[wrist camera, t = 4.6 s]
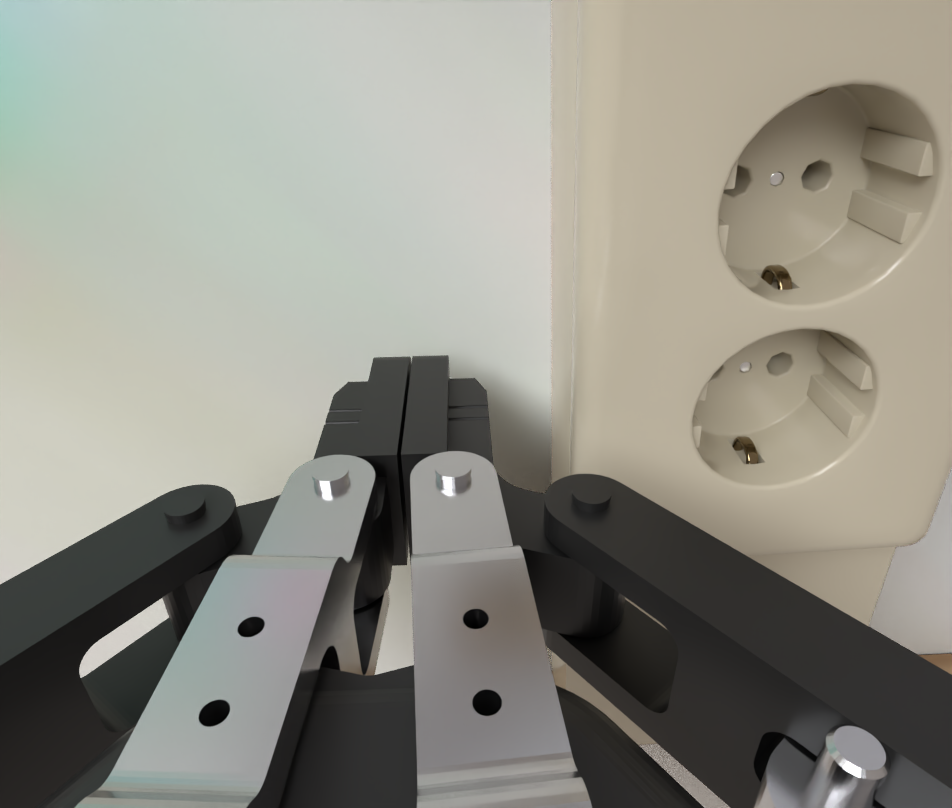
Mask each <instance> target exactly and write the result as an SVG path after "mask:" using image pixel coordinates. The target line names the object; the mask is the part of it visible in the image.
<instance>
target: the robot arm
mask: <svg viewBox="0 0 952 808" xmlns="http://www.w3.org/2000/svg"><path fill="white" fill-rule="evenodd" d="M408 546H409V550H410V561H411V580H412V614H413V647H414V665H413V666H409V667H405V668H401V669H397V670H394V671H390V672H386V673H382V674H378V675H374V674H375V670H376V665H377V660H378V655H379V650H380V645H381V640H382V636H383V631H384V626H385V621H386V616H387V611H388V607H389V590H388V586H389V583H390V579H391V570H392V565H407V558H408ZM161 598H163V601H164V604H165V607H166V609H167V612H168V615H169V618H168V619H166V620H165V621H164V622H162V623H161V624H159V625H158V626H156V627H155V628H154V629H152V630H151V631H149V632H148V633H146V634H145V635H144V636H142V637H141V638H139V639H138V640H136V641H135V642H133V643H132V644H131V645H129V646H128V647H126V648H125V649H123V650H122V651H121V652H119V653H118V654H116V655H115V656H113V657H112V658H111V659H109V660H108V661H106V662H105V663H103V664H102V665H101V666H99V667H98V668H96V669H95V670H93V671H92V672H90V673H89V674H88V675H86V676H84V677H82V678H80V675H79V667H80V663H81V661H82V659H83V657H84V655H85V654H86V652H87V651H88V650H89V648H90V647H91V646H92V645H93V644H94V643H96V642H97V641H98V640H100V639H101V638H103V637H104V636H106V635H107V634H109V633H110V632H112V631H113V630H115V629H116V628H118V627H119V626H120V625H122V624H123V623H125V622H126V621H128V620H129V619H131V618H132V617H134V616H135V615H137V614H138V613H140V612H141V611H143V610H144V609H146V608H147V607H149V606H150V605H152V604H153V603H155V602H156V601H158V600H159V599H161ZM625 598H627V599H629V600H630V601H631V602H633V603H634V604H636V605H637V606H638V607H640V608H641V609H642V610H644V611H645V612H647V613H648V614H649V615H651V616H652V617H653V618H655V619H656V620H658V621H659V622H660V623H661V624H663V625H664V626H665V627H666V628H667V629H666V628H664V627H663V626H661V625H660V624H659V623H657V622H656V621H654V620H653V619H652V618H650V617H649V616H648V615H646V614H645V613H643V612H642V611H641V610H639V609H638V608H637V607H635V606H634V605H632V604H631V603H630V602H628V601H627V600H626V599H625ZM545 644H546V645H545ZM546 646H547V647H548V648H549V649H550V650H551V651H552V652H554V653H555V654H556V655H557V656H558V657H559V658H560V659H562V660H563V661H564V662H565V663H566V664H567V665H568V666H570V667H571V668H572V669H573V670H574V671H575V672H576V673H578V674H579V675H580V676H581V677H582V678H583V679H584V680H586V681H587V682H588V683H589V684H590V685H591V686H592V687H594V688H595V689H596V690H597V691H598V692H599V693H600V694H602V695H603V696H604V697H605V698H606V699H607V700H608V701H610V702H611V703H612V704H613V705H614V706H615V707H616V708H618V709H619V710H620V711H621V712H622V713H623V714H624V715H626V716H627V717H628V718H629V719H630V720H631V721H632V722H634V723H635V724H636V725H637V726H638V727H639V728H640V729H642V730H643V731H644V732H645V733H646V734H647V735H648V736H650V737H651V738H652V739H653V740H654V741H655V742H656V743H658V744H659V745H660V746H661V747H662V748H663V749H664V750H666V751H667V752H668V753H669V754H670V755H671V756H672V757H674V758H675V759H676V760H677V761H678V762H679V763H680V764H682V765H683V766H684V767H685V768H686V769H687V770H688V771H690V772H691V773H692V774H693V775H694V776H695V777H696V778H698V779H699V780H700V781H701V782H702V783H703V784H704V785H706V786H707V787H708V788H709V789H710V790H711V791H712V792H714V793H715V794H716V795H717V796H718V797H719V798H720V799H722V800H723V801H724V802H725V803H726V804H727V805H728V806H730V807H731V808H952V675H951V674H950V673H948V672H946V671H945V670H943V669H941V668H939V667H938V666H936V665H934V664H932V663H931V662H929V661H927V660H926V659H924V658H922V657H920V656H919V655H917V654H915V653H914V652H912V651H910V650H908V649H907V648H905V647H903V646H901V645H900V644H898V643H896V642H895V641H893V640H891V639H889V638H888V637H886V636H884V635H882V634H881V633H879V632H877V631H876V630H874V629H872V628H870V627H869V626H867V625H865V624H864V623H862V622H860V621H858V620H857V619H855V618H853V617H851V616H850V615H848V614H846V613H845V612H843V611H841V610H839V609H838V608H836V607H834V606H832V605H831V604H829V603H827V602H826V601H824V600H822V599H820V598H819V597H817V596H815V595H813V594H812V593H810V592H808V591H807V590H805V589H803V588H801V587H800V586H798V585H796V584H795V583H793V582H791V581H789V580H788V579H786V578H784V577H782V576H781V575H779V574H777V573H776V572H774V571H772V570H770V569H769V568H767V567H765V566H763V565H762V564H760V563H758V562H757V561H755V560H753V559H751V558H750V557H748V556H746V555H745V554H743V553H741V552H739V551H738V550H736V549H734V548H732V547H731V546H729V545H727V544H726V543H724V542H722V541H720V540H719V539H717V538H715V537H713V536H712V535H710V534H708V533H707V532H705V531H703V530H701V529H700V528H698V527H696V526H694V525H693V524H691V523H689V522H688V521H686V520H684V519H682V518H681V517H679V516H677V515H676V514H674V513H672V512H670V511H669V510H667V509H665V508H663V507H662V506H660V505H658V504H657V503H655V502H653V501H651V500H650V499H648V498H646V497H644V496H643V495H641V494H639V493H638V492H636V491H634V490H632V489H631V488H629V487H627V486H626V485H624V484H622V483H620V482H618V481H616V480H614V479H612V478H609V477H606V476H602V475H596V474H574V475H569V476H566V477H563V478H561V479H559V480H557V481H555V482H554V483H552V484H551V485H550V486H549V488H548V489H547V491H546V494H543V493H537V492H532V491H528V490H524V489H521V488H518V487H515V486H513V485H511V484H509V483H508V482H506V481H505V480H504V479H502V478H501V477H500V476H499V475H498V473H497V472H496V470H495V467H494V465H493V457H492V446H491V435H490V424H489V414H488V403H487V392H486V390H485V389H484V388H483V386H482V385H481V384H480V383H479V382H478V381H477V380H476V379H475V378H468V379H450V378H449V357H448V355H447V356H413V358H412V364H411V358H410V357H380V358H374V359H373V363H372V367H371V372H370V376H369V380H368V382H348V383H347V384H346V385H345V386H344V387H342V388H341V389H340V390H339V391H338V392H337V393H336V394H335V395H334V396H333V400H332V403H331V406H330V409H329V413H328V415H327V418H326V425H324V428H323V431H322V434H321V437H320V441H319V444H318V447H317V450H316V453H315V456H314V459H313V460H311V461H309V462H307V463H305V464H303V465H302V466H300V467H299V468H297V469H296V470H295V471H294V472H293V473H292V474H291V476H290V477H289V479H288V481H287V483H286V485H285V487H284V490H283V492H282V494H281V495H279V496H276V497H274V498H271V499H267V500H263V501H259V502H255V503H251V504H247V505H242V506H238V507H236V503H235V499H234V497H233V495H232V494H231V493H230V492H229V491H228V490H226V489H224V488H222V487H219V486H215V485H192V486H187V487H182V488H179V489H176V490H173V491H170V492H168V493H166V494H164V495H162V496H160V497H158V498H156V499H154V500H153V501H151V502H149V503H147V504H145V505H144V506H142V507H140V508H138V509H136V510H135V511H133V512H131V513H129V514H127V515H126V516H124V517H122V518H120V519H118V520H116V521H115V522H113V523H111V524H109V525H107V526H106V527H104V528H102V529H100V530H98V531H97V532H95V533H93V534H91V535H89V536H88V537H86V538H84V539H82V540H80V541H78V542H77V543H75V544H73V545H71V546H69V547H68V548H66V549H64V550H62V551H60V552H59V553H57V554H55V555H53V556H51V557H49V558H48V559H46V560H44V561H42V562H40V563H39V564H37V565H35V566H33V567H31V568H30V569H28V570H26V571H24V572H22V573H21V574H19V575H17V576H15V577H13V578H11V579H10V580H8V581H6V582H4V583H2V584H1V585H0V808H704V807H703V806H702V805H701V804H700V803H699V802H697V801H696V800H695V799H694V798H693V797H692V796H691V795H690V794H689V793H688V792H687V791H686V790H685V789H684V788H683V787H682V786H681V785H680V784H679V783H678V782H676V781H675V780H674V779H673V778H672V777H671V776H670V775H669V774H668V773H667V772H666V771H665V770H664V769H663V768H662V767H661V766H660V765H659V764H658V763H657V762H655V761H654V760H653V759H652V758H651V757H650V756H649V755H648V754H647V753H646V752H645V751H644V750H643V749H642V748H641V747H640V746H639V745H638V744H637V743H636V742H635V741H633V740H632V739H631V738H630V737H629V736H628V735H627V734H626V733H625V732H624V731H623V730H622V729H621V728H620V727H619V726H618V725H617V724H616V723H615V722H613V721H612V720H611V719H610V718H609V717H608V716H607V715H606V714H604V713H603V712H602V711H600V710H599V709H598V708H596V707H595V706H594V705H592V704H591V703H590V702H588V701H586V700H585V699H583V698H581V697H579V696H578V695H576V694H574V693H572V692H570V691H568V690H566V689H563V688H561V687H559V686H557V685H555V682H554V678H553V674H552V670H551V666H550V661H549V657H548V653H547V649H546Z"/></svg>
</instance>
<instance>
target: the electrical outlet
mask: <svg viewBox="0 0 952 808" xmlns="http://www.w3.org/2000/svg"><path fill="white" fill-rule="evenodd" d="M951 469H952V0H551V473H552V474H551V484H552V483H554V482H555V481H557V480H559V479H561V478H563V477H566V476H569V475H574V474H596V475H602V476H606V477H609V478H612V479H614V480H616V481H618V482H620V483H622V484H624V485H626V486H627V487H629V488H631V489H632V490H634V491H636V492H638V493H639V494H641V495H643V496H644V497H646V498H648V499H650V500H651V501H653V502H655V503H657V504H658V505H660V506H662V507H663V508H665V509H667V510H669V511H670V512H672V513H674V514H676V515H677V516H679V517H681V518H682V519H684V520H686V521H688V522H689V523H691V524H693V525H694V526H696V527H698V528H700V529H701V530H703V531H705V532H707V533H708V534H710V535H712V536H713V537H715V538H717V539H719V540H720V541H722V542H724V543H726V544H727V545H729V546H731V547H732V548H734V549H736V550H738V551H739V552H741V553H743V554H745V555H746V556H748V557H750V558H751V559H753V560H755V561H757V562H758V563H760V564H762V565H763V566H765V567H767V568H769V569H770V570H772V571H774V572H776V573H777V574H779V575H781V576H782V577H784V578H786V579H788V580H789V581H791V582H793V583H795V584H796V585H798V586H800V587H801V588H803V589H805V590H807V591H808V592H810V593H812V594H813V595H815V596H817V597H819V598H820V599H822V600H824V601H826V602H827V603H829V604H831V605H832V606H834V607H836V608H838V609H839V610H841V611H843V612H845V613H846V614H848V615H850V616H851V617H853V618H855V619H857V620H858V621H860V622H862V623H864V624H865V625H867V626H869V623H870V620H871V617H872V615H873V612H874V609H875V606H876V603H877V600H878V597H879V595H880V592H881V589H882V586H883V583H884V580H885V578H886V575H887V572H888V569H889V566H890V563H891V560H892V558H893V555H894V552H895V549H896V547H899V546H908V545H913V544H915V543H917V542H919V541H920V540H921V539H923V538H924V537H925V535H926V534H927V532H928V530H929V527H930V525H931V522H932V519H933V517H934V514H935V511H936V509H937V506H938V503H939V501H940V498H941V496H942V493H943V490H944V488H945V485H946V482H947V480H948V477H949V474H950V472H951ZM625 599H626V600H627V601H628V602H630V603H631V604H632V605H634V606H635V607H637V608H638V609H639V610H641V611H642V612H643V613H645V614H646V615H648V616H649V617H650V618H652V619H653V620H654V621H656V622H657V623H659V624H660V625H661V626H663V627H664V628H666V627H665V626H664V625H663V624H661V623H660V622H659V621H658V620H656V619H655V618H653V617H652V616H651V615H649V614H648V613H647V612H645V611H644V610H642V609H641V608H640V607H638V606H637V605H636V604H634V603H633V602H631V601H630V600H629V599H627V598H625ZM666 629H667V628H666ZM552 670H553V677H554V682H555V685H557V686H559V687H561V688H563V689H566V690H568V691H570V692H572V693H574V694H576V695H578V696H579V697H581V698H583V699H585V700H586V701H588V702H590V703H591V704H592V705H594V706H595V707H596V708H598V709H599V710H600V711H602V712H603V713H604V714H606V715H607V716H608V717H609V718H610V719H611V720H612V721H613V722H615V723H616V724H617V725H618V726H619V727H620V728H621V729H622V730H623V731H624V732H625V733H626V734H627V735H628V736H629V737H630V738H631V739H632V740H633V741H635V742H636V743H637V744H638V745H642V744H658V743H656V742H655V741H654V740H653V739H652V738H651V737H650V736H648V735H647V734H646V733H645V732H644V731H643V730H642V729H640V728H639V727H638V726H637V725H636V724H635V723H634V722H632V721H631V720H630V719H629V718H628V717H627V716H626V715H624V714H623V713H622V712H621V711H620V710H619V709H618V708H616V707H615V706H614V705H613V704H612V703H611V702H610V701H608V700H607V699H606V698H605V697H604V696H603V695H602V694H600V693H599V692H598V691H597V690H596V689H595V688H594V687H592V686H591V685H590V684H589V683H588V682H587V681H586V680H584V679H583V678H582V677H581V676H580V675H579V674H578V673H576V672H575V671H574V670H573V669H572V668H571V667H570V666H568V665H567V664H566V663H565V662H564V661H563V660H562V659H560V658H559V657H558V656H557V655H556V654H555V653H554V652H552Z"/></svg>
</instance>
